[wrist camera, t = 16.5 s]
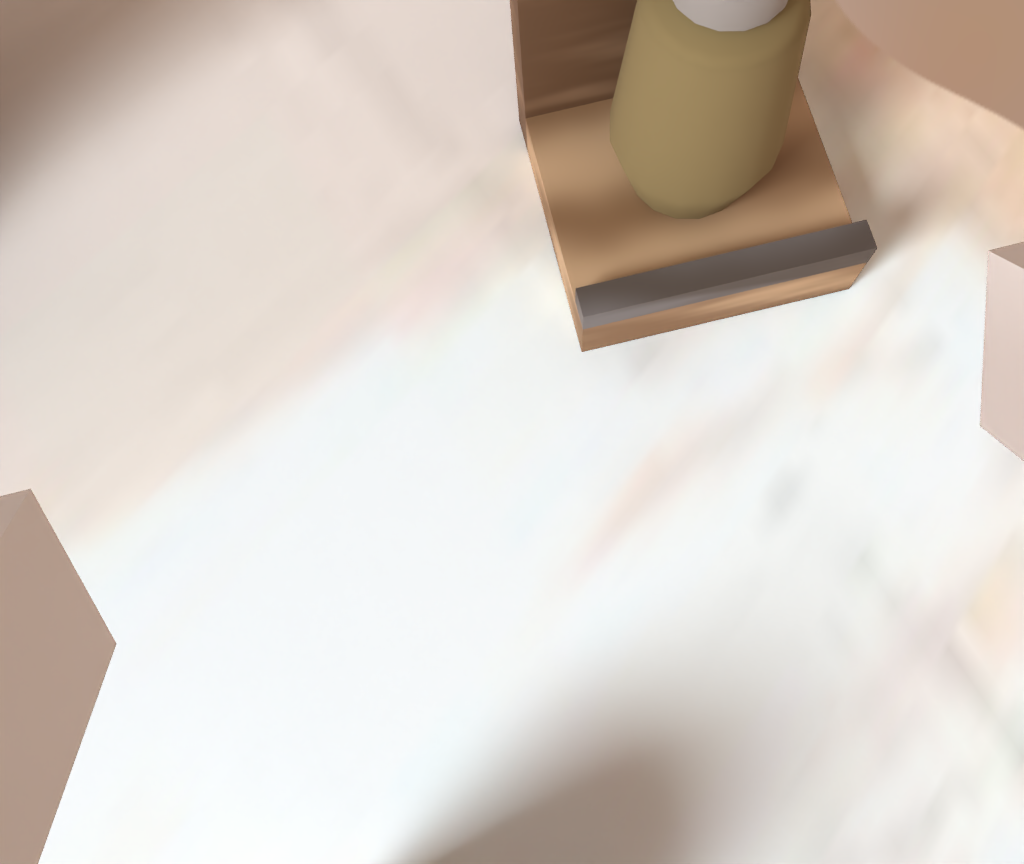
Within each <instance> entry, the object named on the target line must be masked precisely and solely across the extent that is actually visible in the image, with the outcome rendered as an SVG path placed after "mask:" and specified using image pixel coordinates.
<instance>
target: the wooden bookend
mask: <svg viewBox="0 0 1024 864" xmlns="http://www.w3.org/2000/svg"><path fill="white" fill-rule="evenodd" d="M636 3H637V0H510V9H511V21H512V34H513V46H514V59H515V71H516V84H517V96H518V109H519V121H520V125H521V128H522V132H523V136H524V139H525V143H526V147H527V150H528V154H529V158H530V162H531V165H532V169H533V173H534V176H535V180H536V184H537V188H538V191H539V195H540V199H541V202H542V206H543V210H544V214H545V217H546V221H547V225H548V228H549V232H550V236H551V240H552V243H553V247H554V251H555V254H556V258H557V262H558V266H559V269H560V273H561V277H562V280H563V284H564V288H565V292H566V295H567V299H568V303H569V306H570V310H571V314H572V317H573V321H574V325H575V329H576V332H577V336H578V340H579V343H580V347H581V351H582V352H584V351H588V350H592V349H597V348H601V347H605V346H609V345H614V344H618V343H622V342H626V341H630V340H635V339H639V338H643V337H647V336H652V335H656V334H660V333H664V332H669V331H673V330H677V329H681V328H686V327H690V326H694V325H698V324H702V323H707V322H711V321H715V320H719V319H724V318H728V317H732V316H736V315H741V314H745V313H749V312H753V311H757V310H762V309H766V308H770V307H774V306H779V305H783V304H787V303H791V302H796V301H800V300H804V299H808V298H812V297H817V296H821V295H825V294H829V293H834V292H838V291H842V290H846V289H849V288H850V287H851V285H852V284H853V282H854V281H855V279H856V278H857V276H858V275H859V273H860V272H861V271H862V269H863V268H864V266H865V265H866V263H867V262H868V260H869V259H870V258H871V256H872V255H873V253H874V252H875V250H876V249H877V246H876V244H875V241H874V238H873V236H872V233H871V230H870V228H869V225H868V223H867V220H863V221H859V222H855V223H852V221H851V218H850V215H849V213H848V210H847V207H846V205H845V202H844V199H843V197H842V194H841V191H840V189H839V186H838V183H837V181H836V178H835V175H834V173H833V170H832V167H831V165H830V162H829V159H828V157H827V154H826V151H825V149H824V146H823V143H822V141H821V138H820V135H819V133H818V130H817V127H816V125H815V122H814V119H813V117H812V114H811V111H810V109H809V106H808V103H807V101H806V98H805V95H804V93H803V90H802V87H801V85H800V82H799V79H798V78H797V82H796V87H795V92H794V97H793V101H792V106H791V111H790V115H789V120H788V125H787V129H786V134H785V139H784V142H783V145H782V147H781V149H780V152H779V154H778V156H777V159H776V161H775V163H774V165H773V168H772V170H770V171H769V172H768V173H767V174H766V175H765V176H764V177H763V178H762V179H761V180H759V181H758V182H757V183H756V184H755V185H754V186H753V187H752V188H751V189H749V190H748V191H747V192H746V193H744V194H743V195H742V196H740V197H739V198H738V199H736V200H735V201H734V202H732V203H731V204H730V205H728V206H727V207H726V208H724V209H723V210H722V211H719V212H717V213H714V214H711V215H709V216H706V217H703V218H700V219H675V218H673V217H670V216H667V215H665V214H662V213H659V212H657V211H654V210H653V209H652V208H651V207H649V206H648V205H647V204H646V203H645V202H644V201H643V200H642V199H640V198H639V197H638V196H637V194H636V192H635V191H634V189H633V187H632V185H631V183H630V181H629V180H628V178H627V176H626V174H625V172H624V170H623V168H622V166H621V164H620V162H619V160H618V158H617V156H616V153H615V151H614V149H613V147H612V145H611V143H610V109H611V105H612V101H613V97H614V93H615V89H616V85H617V81H618V76H619V72H620V68H621V64H622V60H623V56H624V52H625V48H626V44H627V40H628V36H629V31H630V27H631V23H632V19H633V15H634V11H635V7H636Z"/></svg>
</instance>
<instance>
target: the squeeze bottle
mask: <svg viewBox="0 0 1024 864" xmlns="http://www.w3.org/2000/svg"><path fill="white" fill-rule="evenodd" d="M810 17H811V6H810V0H637V3H636V7H635V11H634V15H633V19H632V23H631V27H630V31H629V36H628V40H627V44H626V48H625V52H624V56H623V60H622V64H621V68H620V72H619V76H618V81H617V85H616V89H615V93H614V97H613V101H612V105H611V109H610V143H611V145H612V147H613V149H614V151H615V153H616V156H617V158H618V160H619V162H620V164H621V166H622V168H623V170H624V172H625V174H626V176H627V178H628V180H629V181H630V183H631V185H632V187H633V189H634V191H635V192H636V194H637V196H638V197H639V198H640V199H642V200H643V201H644V202H645V203H646V204H647V205H648V206H649V207H651V208H652V209H653V210H654V211H657V212H659V213H662V214H665V215H667V216H670V217H673V218H675V219H700V218H703V217H706V216H709V215H711V214H714V213H717V212H719V211H722V210H723V209H724V208H726V207H727V206H728V205H730V204H731V203H732V202H734V201H735V200H736V199H738V198H739V197H740V196H742V195H743V194H744V193H746V192H747V191H748V190H749V189H751V188H752V187H753V186H754V185H755V184H756V183H757V182H758V181H759V180H761V179H762V178H763V177H764V176H765V175H766V174H767V173H768V172H769V171H770V170H772V168H773V165H774V163H775V161H776V159H777V156H778V154H779V152H780V149H781V147H782V145H783V142H784V139H785V134H786V129H787V125H788V120H789V115H790V111H791V106H792V101H793V97H794V92H795V87H796V82H797V78H798V73H799V68H800V64H801V59H802V54H803V50H804V45H805V40H806V36H807V31H808V26H809V21H810Z"/></svg>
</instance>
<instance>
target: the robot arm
mask: <svg viewBox="0 0 1024 864" xmlns="http://www.w3.org/2000/svg"><path fill="white" fill-rule="evenodd" d="M980 426H981V427H982V428H983V429H984V430H986V431H987V432H988V433H989V434H991V435H992V436H993V437H994V438H995V439H997V440H998V441H999V442H1000V443H1002V444H1003V445H1004V446H1005V447H1007V448H1008V449H1009V450H1010V451H1012V452H1013V453H1014V454H1015V455H1016V456H1018V457H1019V458H1020V459H1021V460H1023V461H1024V242H1021V243H1017V244H1013V245H1009V246H1005V247H1001V248H997V249H993V250H989V251H988V265H987V286H986V307H985V329H984V350H983V371H982V393H981V414H980ZM115 646H116V642H115V640H114V639H113V637H112V635H111V633H110V631H109V630H108V628H107V626H106V624H105V622H104V621H103V619H102V617H101V615H100V613H99V611H98V610H97V608H96V606H95V604H94V602H93V601H92V599H91V597H90V595H89V593H88V592H87V590H86V588H85V586H84V584H83V583H82V581H81V579H80V577H79V575H78V574H77V572H76V570H75V568H74V566H73V565H72V563H71V561H70V559H69V557H68V555H67V554H66V552H65V550H64V548H63V546H62V545H61V543H60V541H59V539H58V537H57V536H56V534H55V532H54V530H53V528H52V527H51V525H50V523H49V521H48V519H47V518H46V516H45V514H44V512H43V510H42V508H41V507H40V505H39V503H38V501H37V499H36V498H35V496H34V494H33V492H32V490H31V489H28V490H24V491H20V492H16V493H12V494H8V495H4V496H0V864H38V862H39V859H40V856H41V854H42V851H43V848H44V845H45V842H46V840H47V837H48V834H49V831H50V828H51V826H52V823H53V820H54V817H55V814H56V812H57V809H58V806H59V803H60V800H61V798H62V795H63V792H64V789H65V786H66V784H67V781H68V778H69V775H70V772H71V769H72V767H73V764H74V761H75V758H76V755H77V753H78V750H79V747H80V744H81V741H82V739H83V736H84V733H85V730H86V727H87V725H88V722H89V719H90V716H91V713H92V711H93V708H94V705H95V702H96V699H97V697H98V694H99V691H100V688H101V685H102V683H103V680H104V677H105V674H106V671H107V669H108V666H109V663H110V660H111V657H112V655H113V652H114V649H115Z"/></svg>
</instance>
